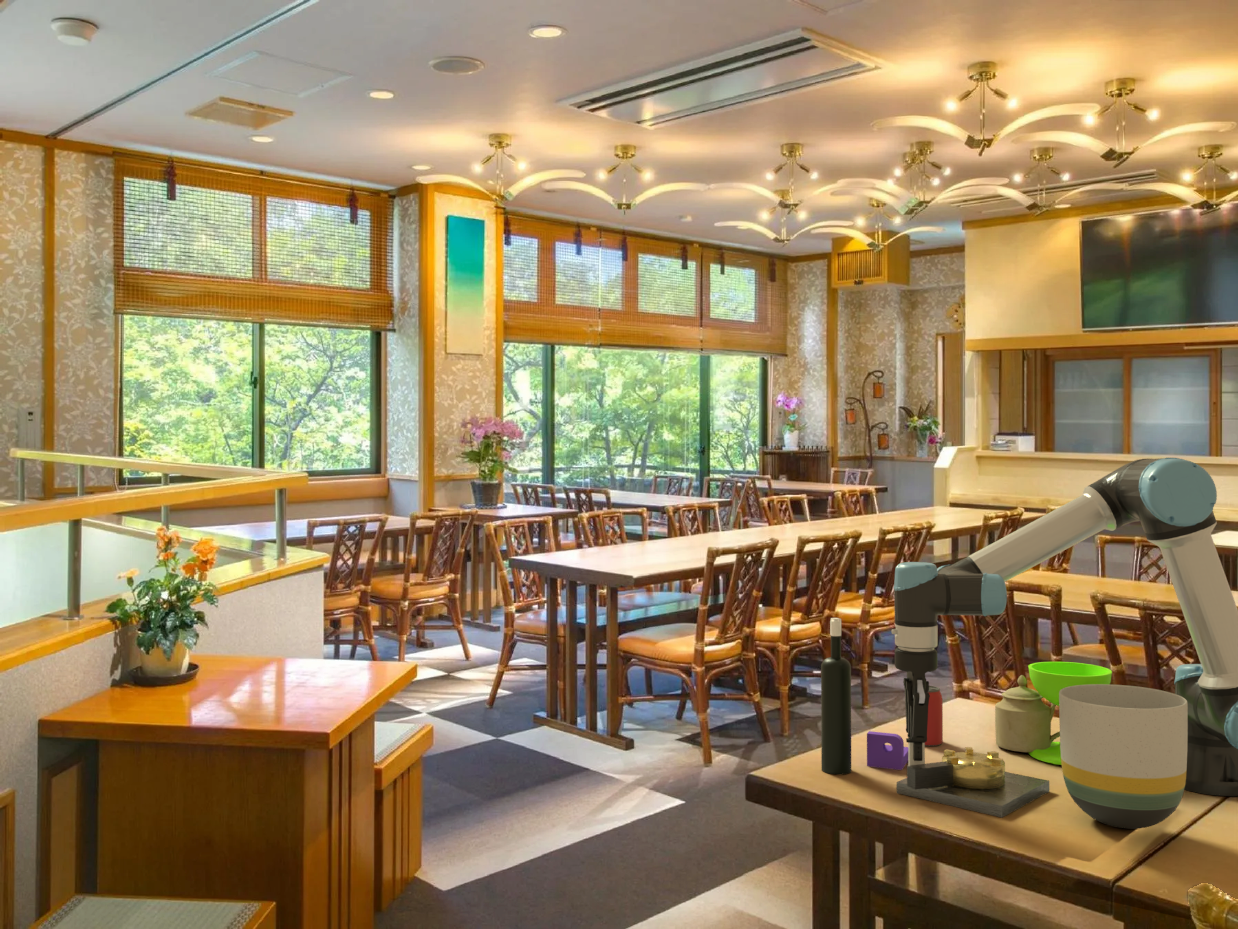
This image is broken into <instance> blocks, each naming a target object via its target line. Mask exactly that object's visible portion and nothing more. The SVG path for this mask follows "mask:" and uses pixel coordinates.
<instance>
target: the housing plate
mask: <svg viewBox="0 0 1238 929" xmlns="http://www.w3.org/2000/svg"><path fill="white" fill-rule="evenodd" d="M1049 792H1050V780H1048V779H1044V778H1038V777H1033V776H1028V775H1022V774H1018V773H1014V772H1008V771H1005V784H1004V785H1003V786H1001V787H997V788H990V789H975V788H966V787H960V786H956V785H947V786H939V787H932V788H924V789H916V790H915V789H913V788H911V787H909V786H907V777H906V778H903V779H901V780H899V781H897V782H896V794H900V795H903V796H908V797H912V798H917V799H919V800H920V799H921V800H926V801H929V802H933V803H937V804H938V803H939V804H943V805H947V806H951V807H955V808H959V809H962V810H967V811H968V810H969V811H973V812H976V813H981V814H986V815H990V816H993V817H998V818H1004V817H1006V816H1007V815H1009V814H1011V813H1013V812H1015V811H1017V810H1019V809H1020V808H1022V807H1024V806H1026V805H1029V803H1031V802H1034V801H1035V800H1036V799H1038V798H1040V797H1042V796H1044V795H1047V794H1048V793H1049Z"/></svg>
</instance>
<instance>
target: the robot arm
mask: <svg viewBox="0 0 1238 929" xmlns="http://www.w3.org/2000/svg"><path fill="white" fill-rule="evenodd" d="M1217 493H1218V492H1217V486H1216V484H1215V482H1214V479H1213V477H1212V476H1211V475H1210V473H1209V472H1208V471H1207V470H1206V469H1205V468H1204V467H1202V466H1201V465H1199V464H1197V463H1196V462H1193V461H1190V460H1187V459H1183V458H1179V457H1163V458H1162V457H1161V458H1140V459H1135V460H1132V461H1130V462H1128V463H1125V464H1124V465H1122V466H1120V467H1118V468H1116V469H1115V470H1113V471H1111V472H1109V473H1108V474H1106V475H1105V476H1103V477H1101V478H1100V479H1097V480H1096V481H1095V482H1093V483H1091V484H1089V485H1087V486H1085V487H1084V488H1083V491H1082V494H1081V495H1080V496H1078V497H1076V498H1074V499H1072V500H1070V501H1068V502H1067V503H1064V504H1063V505H1061V506H1059V507H1057V508H1055V509H1054V510H1052V511H1050V512H1048V513H1046V514H1043V516H1041V517H1038V518H1037V519H1035V520H1033V521H1031V522H1030V523H1028V524H1026V525H1024V526H1022V527H1020V528H1018V529H1016V530H1015V531H1012V532H1011V533H1009V534H1007V535H1005V536H1004V537H1002V538H1000V539H997V540H996V541H994V542H993V543H990V544H988V545H987V546H984V547H983V548H981V549H979V550H977V551H976V552H973V553H971V554H970V555H968V556H966V557H965V558H962V559H960V560H958V561H957V562H955V563H953V564H945V565H941V566H939V567H937V565H936V564H934V563H931V562H926V561H925V562H923V561H921V562H920V561H906V562H900V563H898V564H897V565H896V566H895V570H894V582H893V583H894V584H893V590H894V591H893V593H894V594H893V596H894V597H893V598H894V599H893V600H894V601H893V602H894V627H895V628H892V629H891V630H890V631H891V634H892V635H894V644H895V646H897V647H895V649H894V667H895V668H896V669H897V670H898V671H902V672H906V677H903V681H902V683H903V689H904V705H905V725H906V726H905V731H906V733H907V738H905V742H906V743H908V745H907V747H908V762H907V764H908V765H907V766H910V765H919V764H926V755H925V754H926V753H925V752H926V750H925V749H926V746H925V742H927V725H928V704H929V698H930V695H929V693H928V691H929V686H930V682H929V680H927V677H926V673H928V672H929V673H932V672H934V671H937V669H938V650H937V649H936V648H937V647H938V638H939V637H938V634H939V633H938V627H939V626H938V616H983V617H987V616H998V615H1001V614H1003V613H1004V612H1005V609H1006V606H1007V602H1008V600H1007V599H1008V597H1007V595H1008V594H1007V592H1008V591H1007V584H1006V582H1008V581H1009V580H1011V579H1013V578H1015V577H1017V576H1019V575H1020V574H1023V573H1024V572H1026V571H1028V570H1030V569H1032V568H1033V567H1036V566H1038V565H1039V564H1041V563H1044V562H1045V561H1046V560H1049V559H1051V558H1053V557H1054V556H1056V555H1058V554H1060V553H1062V552H1064V551H1065V550H1068V549H1069V548H1072V547H1074V546H1075V545H1077V544H1079V543H1081V542H1083V541H1084V540H1086V539H1088V538H1091V537H1092V536H1094V535H1096V534H1098V533H1099V532H1102V531H1104V530H1107V531H1112V532H1114V531H1115V530H1118V529H1119V528H1121V527H1123V526H1125V525H1128V524H1132V523H1135V522H1140V524H1141V526H1142V529H1143V532H1144V536H1145V537H1146V540H1147V542H1149V543H1150V544H1153V545H1155V546H1157V547H1158V548H1159V549H1160V552H1161V556H1162V558H1163V561H1164V564H1165V567H1166V570H1167V572H1168V574H1169V578H1170V581H1171V583H1172V586H1173V590H1174V592H1175V595H1176V598H1177V599H1178V600H1177V601H1178V603H1179V605H1180V609H1181V611H1182V614H1183V617H1184V620H1185V623H1186V626H1187V629H1188V631H1189V635H1190V636H1191V640H1192V643H1193V646H1194V648H1195V650H1196V655H1197V656H1198V659H1199V662H1200V663H1187V664H1186V663H1185V664H1180V665H1179V666H1177V667H1176V670H1175V676H1174V677H1175V678H1174V681H1173V682H1174V683H1173V685H1174V694H1176V695H1179V696H1181V697H1183V698H1185V699H1186V700H1187V704H1188V741H1187V770H1186V783H1185V788H1184V791H1189V792H1193V793H1197V794H1202V795H1210V796H1218V797H1219V796H1220V797H1238V607H1237V604H1236V601H1235V599H1234V595H1233V593H1232V591H1231V590H1232V589H1231V588H1230V584H1229V582H1228V579H1227V576H1226V573H1225V571H1224V568H1223V565H1222V561H1221V559H1220V557H1219V553H1218V550H1217V547H1216V546H1215V543H1214V539H1213V536H1212V533H1213V531H1214V529H1215V528H1216V525H1217V524H1218V523H1217V522H1218V521H1217V520H1216V516H1215V514H1214V508H1215V505H1216V503H1217V500H1218V499H1217V498H1218V495H1217Z"/></svg>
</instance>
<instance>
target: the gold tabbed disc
mask: <svg viewBox="0 0 1238 929" xmlns="http://www.w3.org/2000/svg"><path fill="white" fill-rule="evenodd" d="M986 753H987V754H986ZM986 753H982V752H981V753H980V752H974V749H973V747H971V746H970V747H969V746H966V747H964V751H959V752H958V751H957V752H956V750H952V749H948V748H946V749H944V750H943V755H942V756H941V761H937V762H929V763H925V764H919V765H910V766H908V765H907V766H906V778H907V786H909V787H911V788H913V789H915V790H916V789H924V788H932V787H939V786H947V785H956V786H960V787H966V788H975V789H990V788H997V787H1001V786H1003V785H1004V784H1005V772H1006V768H1005V767H1006V762H1005V761H1004V759H1003V758H1000V755H999V754H1000V753H999V752H997V751H994V750H993V751H987V752H986Z"/></svg>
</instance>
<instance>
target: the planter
mask: <svg viewBox="0 0 1238 929" xmlns="http://www.w3.org/2000/svg"><path fill="white" fill-rule="evenodd" d="M1058 710H1059V711H1058V714H1059V716H1058V718H1059V720H1058V721H1059V731H1060V737H1059V742H1060V749H1061V764H1062V765H1061V771H1062V772H1061V773H1062V776H1063V781H1064V783H1065V787H1066V790H1067V792H1068V794H1069V795H1070V797H1071V799H1072V800H1073V802H1074V804H1076V805H1077V807H1079V809H1080V810H1082V811H1083V812H1084V813H1085V814H1087V815H1088V816H1089V817H1090V818H1092V819H1094V820H1095V821H1097V822H1100V823H1102V824H1105V825H1107V826H1111V827H1114V828H1119V829H1120V828H1121V829H1126V830H1127V829H1129V830H1131V829H1132V830H1136V829H1144V828H1145V829H1146V828H1149V827H1153V826H1156V825H1158V824H1160V823H1162V822H1163V821H1165V820H1166V819H1167V818H1169V817H1170V816H1171V815H1172V814H1173V813H1174V812H1175V811H1176V810H1177V809H1178V807H1179V805H1180V803H1181V801H1182V798H1183V795H1184V792H1185V790H1184V788H1185V783H1186V770H1187V741H1188V704H1187V700H1186V699H1185V698H1183V697H1181V696H1179V695H1176V694H1175V693H1173V692H1170V691H1164V690H1161V689H1156V688H1150V687H1142V686H1135V685H1122V684H1088V685H1076V686H1070V687H1066V688H1063V689H1061V690H1060V691H1059V706H1058Z"/></svg>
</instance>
